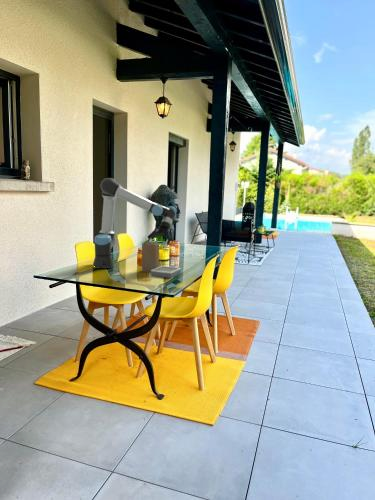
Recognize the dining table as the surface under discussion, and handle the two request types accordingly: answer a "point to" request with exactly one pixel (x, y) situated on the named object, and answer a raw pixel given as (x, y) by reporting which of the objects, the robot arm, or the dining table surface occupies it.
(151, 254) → the block
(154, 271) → the baseplate
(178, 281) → the dining table surface
